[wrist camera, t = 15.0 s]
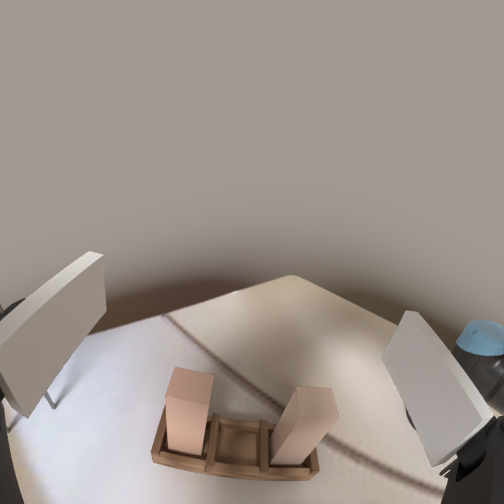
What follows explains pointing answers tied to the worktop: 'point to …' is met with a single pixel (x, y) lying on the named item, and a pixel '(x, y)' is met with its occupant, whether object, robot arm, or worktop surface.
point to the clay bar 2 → (302, 425)
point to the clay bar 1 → (187, 410)
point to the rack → (232, 452)
